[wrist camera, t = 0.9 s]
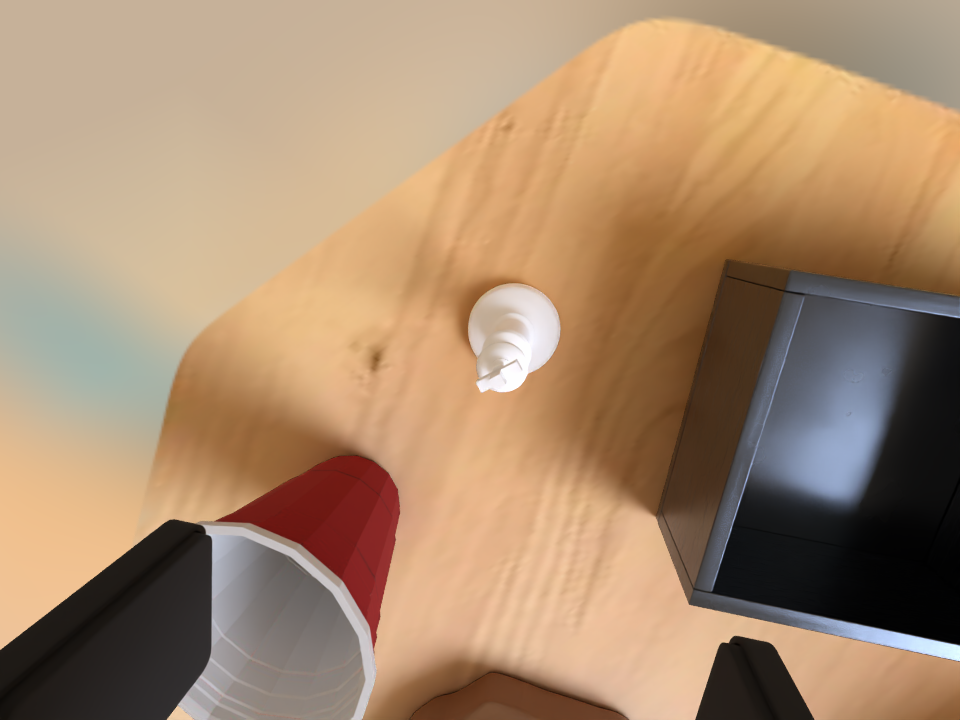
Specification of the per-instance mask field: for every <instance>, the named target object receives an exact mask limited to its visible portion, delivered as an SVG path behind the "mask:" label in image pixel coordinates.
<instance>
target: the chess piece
mask: <svg viewBox="0 0 960 720" xmlns="http://www.w3.org/2000/svg"><path fill="white" fill-rule="evenodd" d="M560 331H561V328H560V320H559V316H558V313H557V310H556V308H555V307H554V305H553V303H552V302H551V301H550V299H549V298H548V297H547V296H546V295H544V294H543V293H542V292H541V291H539V290H537V289H536V288H534V287H531V286H528V285H525V284H519V283H509V284H503V285H500V286H497V287H495V288H492V289H491V290H489V291H488V292H486V293H485V294H484V295H483V296H481V297H480V299H479V300H478V301H477V302H476V304H475V305H474V307H473V309H472V311H471V314H470V317H469V322H468V337H469V342H470V345H471V347H472V350H473V352H474V353H475V355H476V356H477V358H478V360H477V365H476V369H477V374H478V377H479V379H477V381H476V384H477V386H478V387H479V389H480V391H481V393H483V392H485V391H486V390H488V389H491V390H493V391H496V392H509V391H512V390H514V389H516V388H518V387H519V386H520V385H521V384H522V383H523V382H524V380H525V379H526V376H527V374H528V373H531V372H533V371H535V370H537V369H539V368H540V367H542V366H543V365H544V364H545V363H546V362H547V361H548V360H549V359H550V357H551V356H552V355H553V353H554V351H555V350H556V348H557V345H558V342H559V339H560Z"/></svg>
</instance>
